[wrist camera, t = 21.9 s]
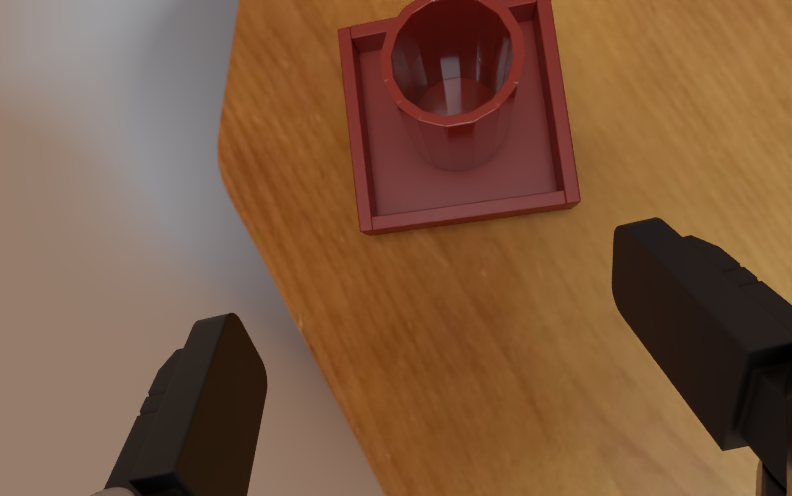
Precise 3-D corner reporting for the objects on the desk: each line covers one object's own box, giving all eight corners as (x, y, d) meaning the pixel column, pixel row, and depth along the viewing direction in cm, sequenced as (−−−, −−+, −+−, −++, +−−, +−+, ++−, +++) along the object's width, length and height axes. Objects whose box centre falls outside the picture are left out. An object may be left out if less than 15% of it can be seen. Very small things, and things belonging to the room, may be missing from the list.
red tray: (369, 235, 30) (359, 232, 28) (348, 48, 31) (337, 28, 29) (571, 208, 29) (581, 201, 26) (542, 10, 30) (549, -15, 27)
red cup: (413, 178, 30) (389, 136, 21) (402, 83, 30) (373, 2, 21) (514, 163, 29) (533, 112, 20) (501, 65, 29) (514, -27, 20)
